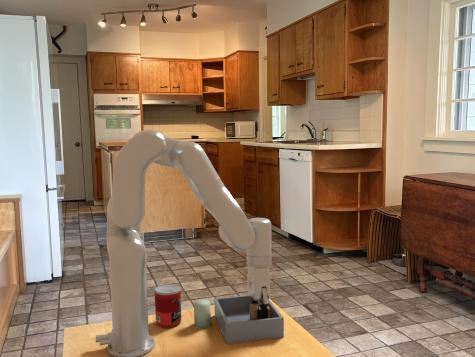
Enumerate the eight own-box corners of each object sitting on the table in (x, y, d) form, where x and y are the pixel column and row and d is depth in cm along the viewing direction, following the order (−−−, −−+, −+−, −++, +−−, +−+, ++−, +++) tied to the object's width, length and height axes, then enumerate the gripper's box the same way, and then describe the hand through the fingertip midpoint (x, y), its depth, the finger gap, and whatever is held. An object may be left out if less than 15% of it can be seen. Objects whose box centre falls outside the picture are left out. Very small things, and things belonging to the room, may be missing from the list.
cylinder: (195, 329, 130) (194, 306, 129) (193, 322, 135) (192, 300, 134) (212, 327, 131) (211, 305, 130) (209, 320, 136) (208, 298, 135)
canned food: (176, 329, 130) (175, 293, 129) (151, 327, 132) (150, 292, 131) (185, 318, 138) (184, 284, 136) (161, 316, 139) (159, 283, 138)
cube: (254, 326, 130) (253, 310, 129) (249, 319, 135) (249, 304, 134) (270, 324, 131) (270, 308, 130) (265, 317, 136) (265, 302, 135)
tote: (226, 343, 121) (226, 324, 120) (214, 315, 140) (214, 298, 139) (283, 336, 124) (283, 317, 124) (264, 309, 143) (264, 293, 143)
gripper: (240, 252, 138) (241, 307, 140) (254, 269, 122) (255, 331, 123) (263, 251, 140) (263, 305, 142) (280, 266, 123) (280, 328, 125)
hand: (259, 316), depth 133 cm, fingers open, 5 cm apart
